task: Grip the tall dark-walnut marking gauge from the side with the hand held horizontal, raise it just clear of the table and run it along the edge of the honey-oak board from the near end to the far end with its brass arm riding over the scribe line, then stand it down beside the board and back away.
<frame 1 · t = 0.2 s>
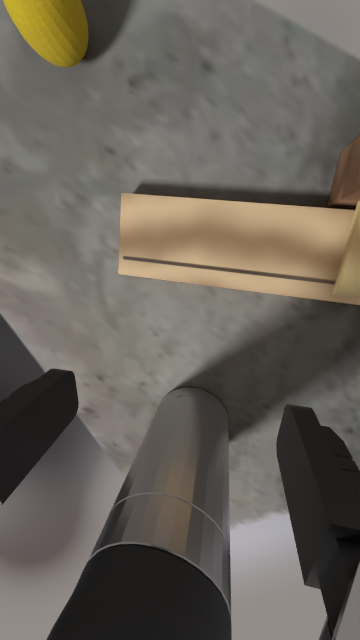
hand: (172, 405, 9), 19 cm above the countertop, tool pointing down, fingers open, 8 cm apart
board: (245, 249, 25), on the countertop
gauge: (359, 182, 21), on the countertop
lemon: (79, 55, 23), on the countertop
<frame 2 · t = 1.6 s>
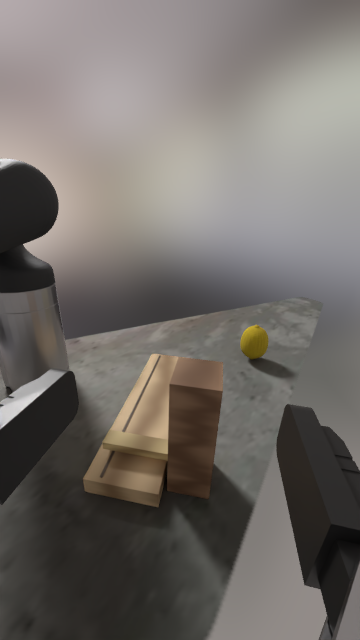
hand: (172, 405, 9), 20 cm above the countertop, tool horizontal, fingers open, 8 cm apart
board: (154, 409, 36), on the countertop
gauge: (190, 474, 27), on the countertop
lemon: (251, 359, 52), on the countertop
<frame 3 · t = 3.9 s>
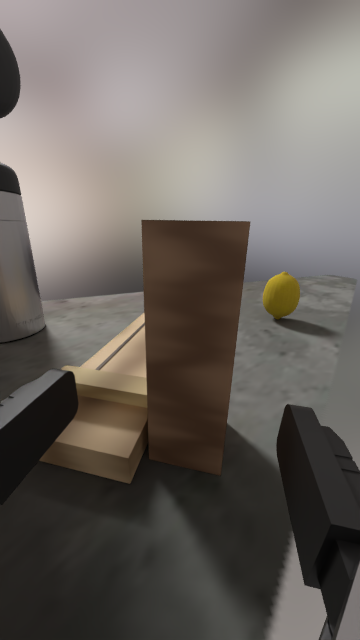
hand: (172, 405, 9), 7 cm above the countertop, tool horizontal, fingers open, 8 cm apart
board: (145, 361, 26), on the countertop
gauge: (190, 438, 17), on the countertop
lemon: (276, 320, 40), on the countertop
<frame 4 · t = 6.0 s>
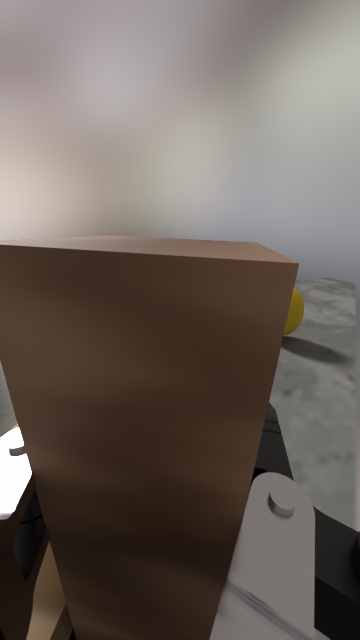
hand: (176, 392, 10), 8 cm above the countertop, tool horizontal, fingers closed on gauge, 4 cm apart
board: (108, 410, 20), on the countertop
gauge: (157, 583, 10), on the countertop, touching gripper
lemon: (275, 338, 34), on the countertop
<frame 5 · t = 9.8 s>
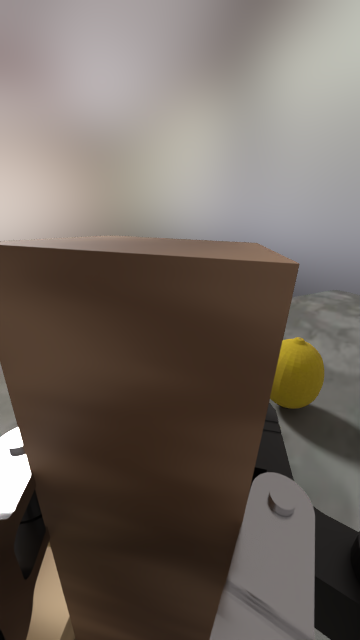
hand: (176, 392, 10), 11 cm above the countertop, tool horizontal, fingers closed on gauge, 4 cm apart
gauge: (157, 583, 10), point 3 cm above the countertop, touching gripper
lemon: (282, 407, 25), on the countertop
when the fingers open (8 cm above the countertop, at t = 13.7 s): gauge stays where it is, on the countertop.
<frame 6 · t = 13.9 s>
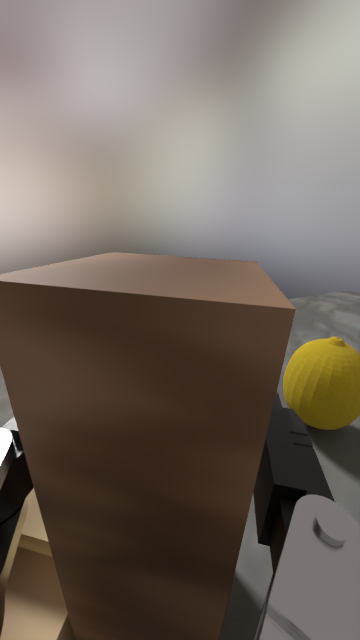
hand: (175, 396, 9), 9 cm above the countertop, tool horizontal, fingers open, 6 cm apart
gauge: (157, 591, 10), on the countertop
lemon: (309, 426, 20), on the countertop
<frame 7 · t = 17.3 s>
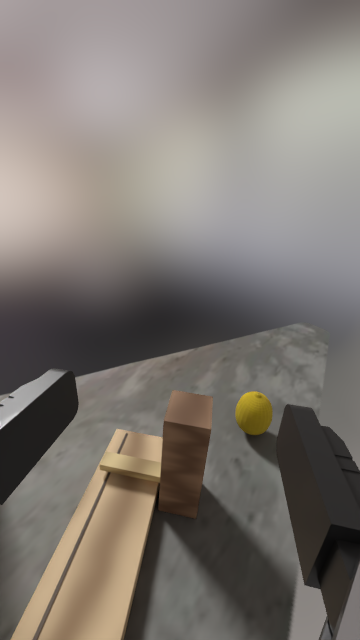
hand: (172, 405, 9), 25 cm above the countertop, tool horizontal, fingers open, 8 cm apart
board: (103, 552, 24), on the countertop
gauge: (180, 494, 30), on the countertop
lemon: (248, 432, 40), on the countertop
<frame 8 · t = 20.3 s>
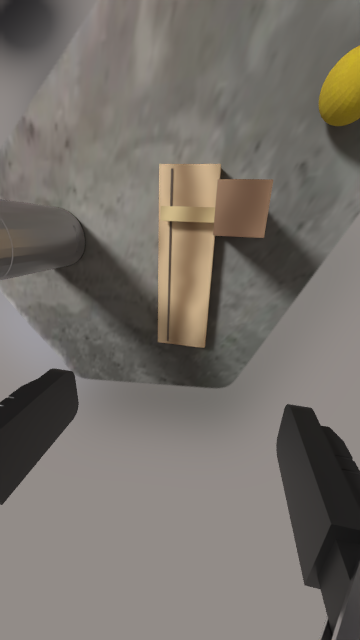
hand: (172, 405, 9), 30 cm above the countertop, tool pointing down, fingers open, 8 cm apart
board: (186, 264, 37), on the countertop
gauge: (236, 217, 33), on the countertop
lemon: (334, 108, 28), on the countertop
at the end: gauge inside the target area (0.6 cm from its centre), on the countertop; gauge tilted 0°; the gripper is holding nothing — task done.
